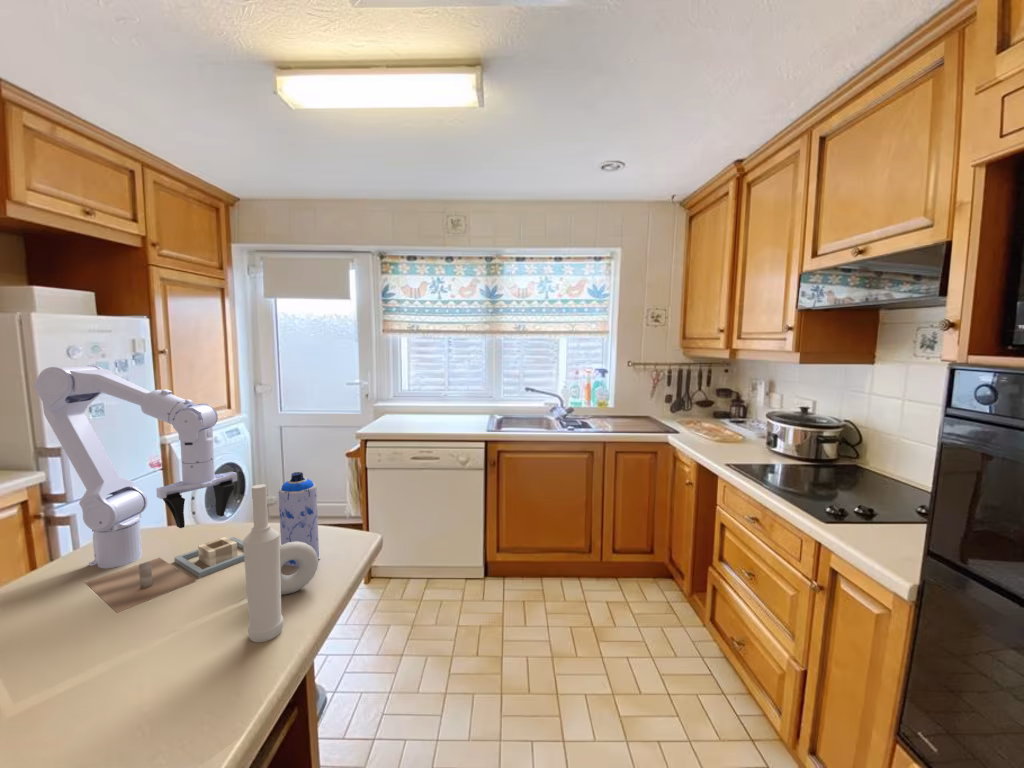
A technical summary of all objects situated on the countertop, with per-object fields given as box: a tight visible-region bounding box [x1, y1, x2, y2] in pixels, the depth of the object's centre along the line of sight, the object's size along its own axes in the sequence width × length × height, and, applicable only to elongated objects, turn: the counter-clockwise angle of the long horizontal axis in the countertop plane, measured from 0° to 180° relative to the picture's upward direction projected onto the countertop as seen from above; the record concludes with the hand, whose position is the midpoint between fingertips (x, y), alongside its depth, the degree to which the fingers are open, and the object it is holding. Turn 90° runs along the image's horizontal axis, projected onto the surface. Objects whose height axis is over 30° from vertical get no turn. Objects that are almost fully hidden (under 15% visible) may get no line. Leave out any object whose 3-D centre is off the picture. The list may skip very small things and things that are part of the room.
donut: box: [280, 541, 319, 595], centre depth 83 cm, size 10×4×10 cm, turn 127°
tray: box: [173, 536, 245, 579], centre depth 95 cm, size 12×12×2 cm
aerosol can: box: [278, 471, 320, 569], centre depth 95 cm, size 8×8×20 cm
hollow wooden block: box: [197, 536, 239, 567], centre depth 95 cm, size 5×5×4 cm
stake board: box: [84, 557, 197, 613], centre depth 85 cm, size 18×12×6 cm, turn 57°
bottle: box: [242, 483, 284, 643], centre depth 70 cm, size 5×5×25 cm
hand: (201, 520), depth 95 cm, fingers open, 7 cm apart
